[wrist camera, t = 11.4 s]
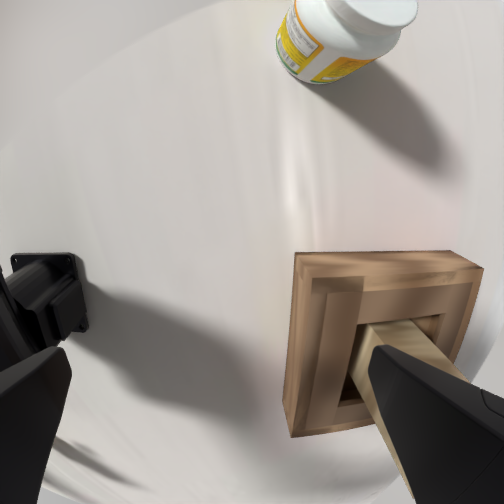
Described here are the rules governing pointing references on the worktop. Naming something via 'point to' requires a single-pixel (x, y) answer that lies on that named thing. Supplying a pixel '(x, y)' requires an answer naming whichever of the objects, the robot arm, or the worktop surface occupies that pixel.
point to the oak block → (404, 339)
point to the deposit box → (360, 312)
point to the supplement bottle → (339, 35)
